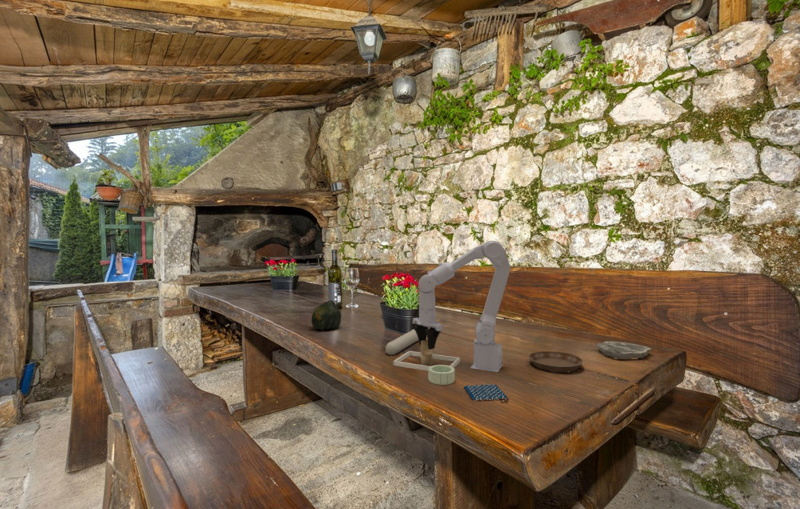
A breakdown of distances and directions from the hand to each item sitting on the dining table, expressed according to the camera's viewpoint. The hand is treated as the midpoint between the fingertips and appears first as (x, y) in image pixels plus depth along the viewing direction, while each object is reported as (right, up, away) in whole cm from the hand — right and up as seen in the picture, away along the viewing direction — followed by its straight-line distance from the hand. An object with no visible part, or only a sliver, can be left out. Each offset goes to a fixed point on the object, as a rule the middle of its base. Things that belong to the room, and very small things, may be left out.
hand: (427, 347), depth 137 cm
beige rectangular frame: (0, -6, 0) cm, 6 cm away
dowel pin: (0, -6, 0) cm, 6 cm away
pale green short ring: (+3, -7, -16) cm, 18 cm away
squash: (-46, -5, +57) cm, 73 cm away
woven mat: (+15, -8, -27) cm, 32 cm away
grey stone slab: (+76, -6, +14) cm, 78 cm away
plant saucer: (+45, -7, 0) cm, 46 cm away
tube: (-8, -6, +23) cm, 25 cm away
